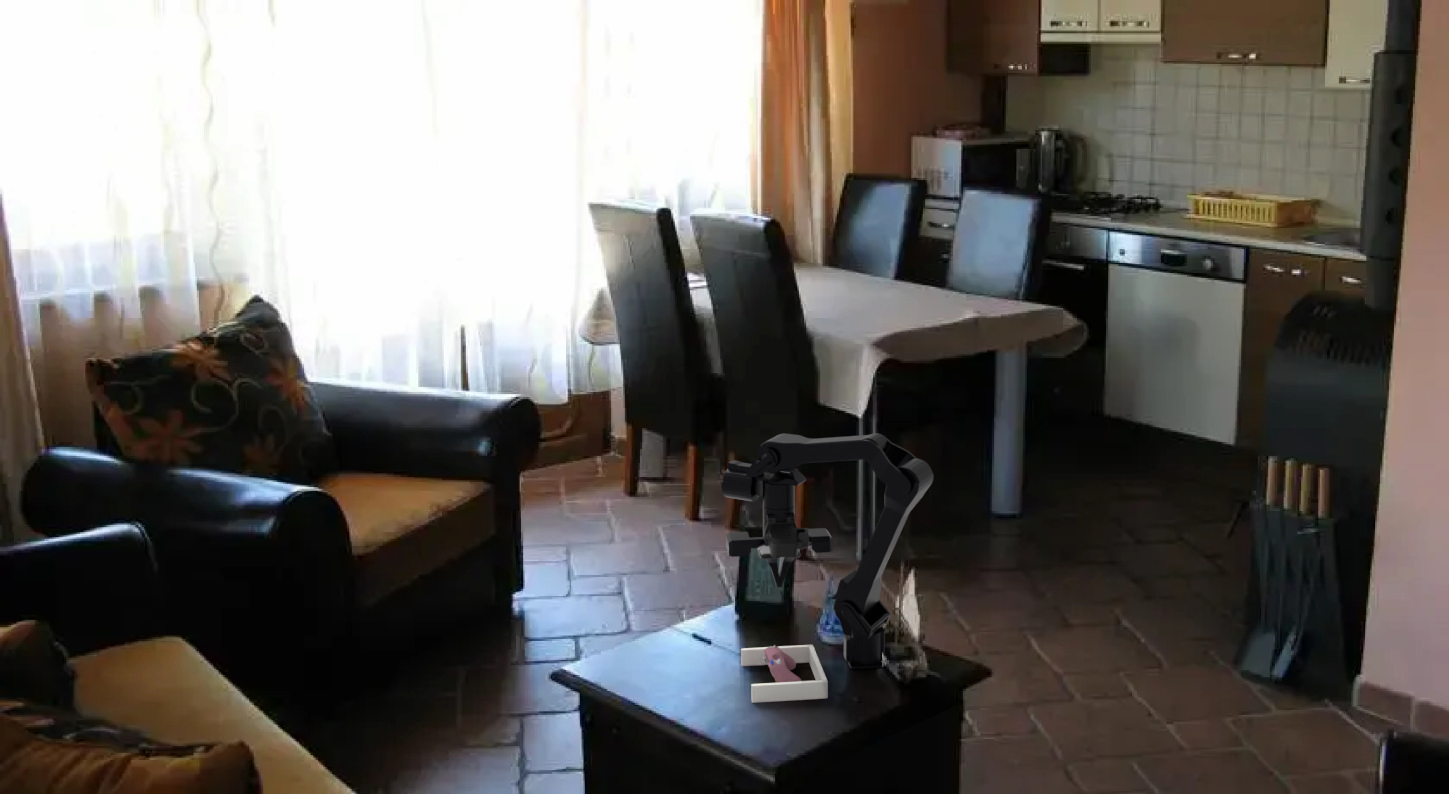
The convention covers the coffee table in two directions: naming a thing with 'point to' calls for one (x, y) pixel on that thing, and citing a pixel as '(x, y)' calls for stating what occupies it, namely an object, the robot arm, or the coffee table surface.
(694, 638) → the coffee table surface
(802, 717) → the coffee table surface
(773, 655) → the pink curved piece
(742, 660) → the white u-shaped bracket
